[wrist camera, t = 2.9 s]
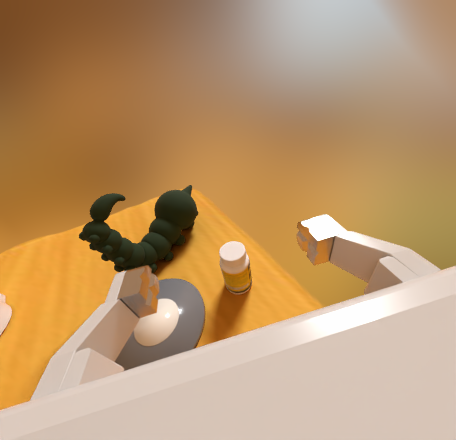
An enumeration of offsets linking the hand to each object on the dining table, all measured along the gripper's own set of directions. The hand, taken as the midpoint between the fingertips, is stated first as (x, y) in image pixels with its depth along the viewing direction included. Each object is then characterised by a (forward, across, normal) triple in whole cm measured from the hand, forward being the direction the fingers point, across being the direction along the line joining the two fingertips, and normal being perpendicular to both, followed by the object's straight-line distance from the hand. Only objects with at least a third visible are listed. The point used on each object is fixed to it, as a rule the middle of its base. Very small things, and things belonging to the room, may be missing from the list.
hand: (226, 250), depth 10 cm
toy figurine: (+27, +12, +21) cm, 36 cm away
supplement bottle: (+12, -1, +21) cm, 25 cm away
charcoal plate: (+9, +13, +21) cm, 26 cm away
